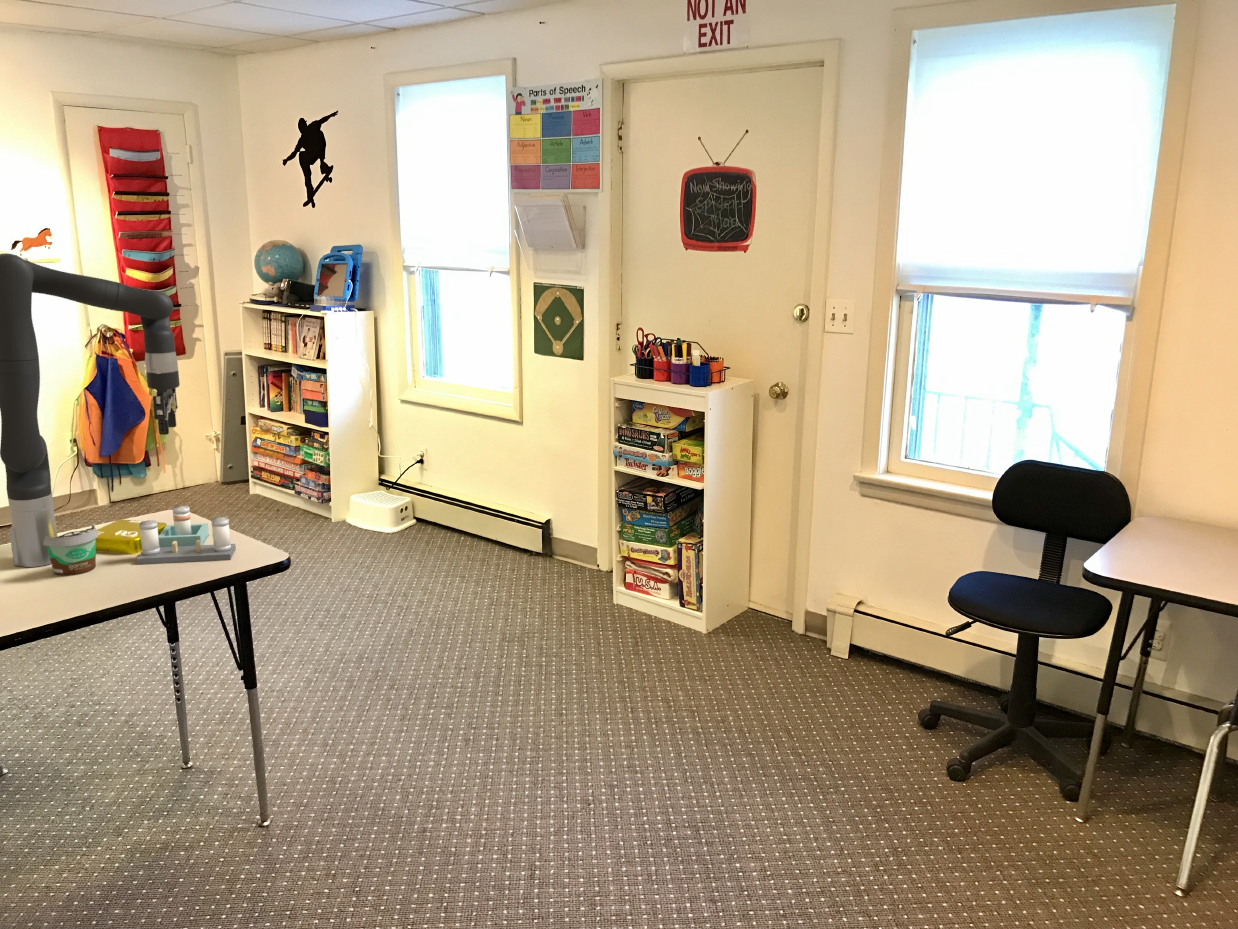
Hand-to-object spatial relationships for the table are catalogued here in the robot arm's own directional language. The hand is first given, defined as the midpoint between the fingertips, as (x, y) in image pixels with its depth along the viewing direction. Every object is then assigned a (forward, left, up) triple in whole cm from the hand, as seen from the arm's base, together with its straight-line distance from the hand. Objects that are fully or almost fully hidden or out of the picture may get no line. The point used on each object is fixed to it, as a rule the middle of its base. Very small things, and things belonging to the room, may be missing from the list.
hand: (168, 430), depth 245 cm
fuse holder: (+5, -14, -30) cm, 34 cm away
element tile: (-12, -1, -31) cm, 33 cm away
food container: (-18, -21, -30) cm, 41 cm away
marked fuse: (+2, -3, -29) cm, 30 cm away
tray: (+2, -3, -30) cm, 30 cm away
